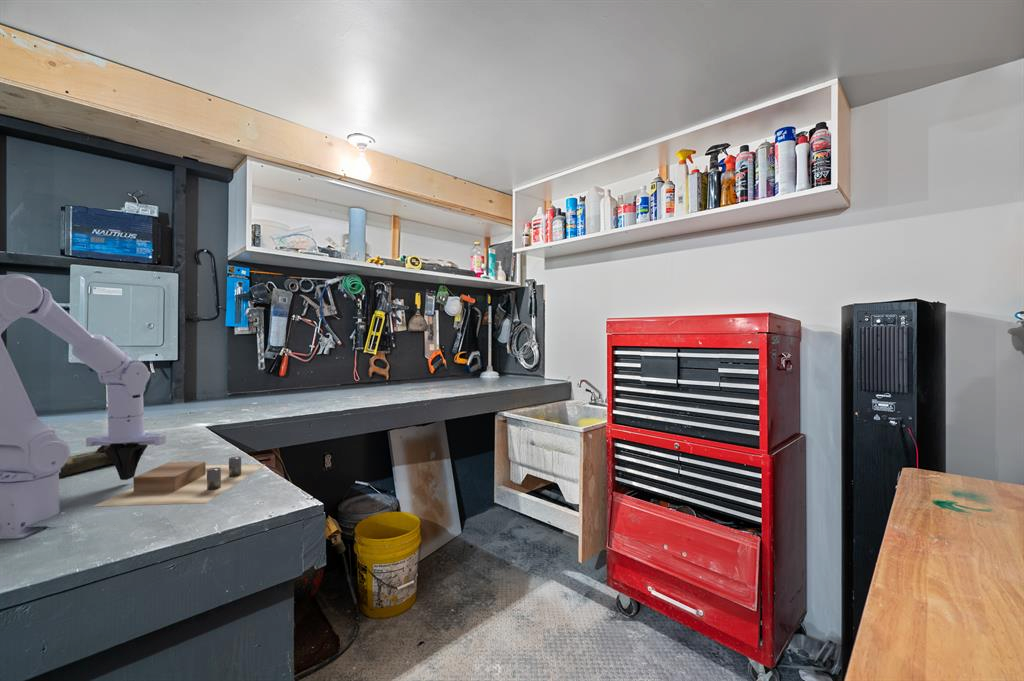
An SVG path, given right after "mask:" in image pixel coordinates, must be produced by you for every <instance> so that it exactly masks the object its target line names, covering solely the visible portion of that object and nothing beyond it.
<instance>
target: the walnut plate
mask: <svg viewBox="0 0 1024 681" xmlns="http://www.w3.org/2000/svg"><path fill="white" fill-rule="evenodd" d="M205 466H206V461H185V462H184V461H183V462H182V461H181V462H179V461H178V462H172V461H171V462H167V463H164V464H162V465H159V466H157V467H155V468H152V469H150V470H148V471H146V472H144V473H141V474H138V475H135V476H134V477H132V478H133V488H134V492H156V491H176V490H178V489H180V488H182V487H184V486H185V485H187V484H189V483H191V482H193V481H195V480H197V479H198V478H200V477H202V476H204V475H206V469H205Z"/></svg>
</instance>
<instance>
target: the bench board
mask: <svg viewBox="0 0 1024 681" xmlns="http://www.w3.org/2000/svg"><path fill="white" fill-rule="evenodd" d="M261 464H262V465H261ZM261 464H242V456H231V457H229V458H228V464H221V465H219V464H218V465H215V464H214V465H210V464H209V465H207V464H206V465H205V469H206V475H204V476H202V477H200V478H198V479H197V480H195V481H193V482H191V483H189V484H187V485H185V486H184V487H182V488H180V489H178V490H176V491H156V492H134V487H132V488H130V489H127V490H126V491H123V492H120V493H118V494H117V495H115V496H113V497H110V498H108V499H105V500H104V501H101V502H100V503H97V504H95V505H93V506H92V507H93V508H94V507H125V506H126V507H127V506H128V507H129V506H157V505H158V506H159V505H160V506H162V505H166V506H167V505H194V504H207V503H208V502H210V501H211V500H213V499H214V498H216V497H217V496H219V495H221V494H222V493H224V492H225V491H227V490H228V489H230V488H231V487H233V486H235V485H236V484H237V483H239V482H241V481H242V480H244V479H245V478H247V477H249V476H250V475H252V474H253V473H255V472H257V471H258V470H260V469H261V468H262V467H264V466H266V463H265V464H264V463H261Z"/></svg>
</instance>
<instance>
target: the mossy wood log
mask: <svg viewBox="0 0 1024 681" xmlns="http://www.w3.org/2000/svg"><path fill="white" fill-rule="evenodd" d="M109 447H110V445H103V446H99V447H98V448H97V450H95V451H91V452H85V453H81V454H77V455H71V456H69V458H68V460H67V462H66V463H65V465H64V466H63V467H62V468H61V472H60V473H59V479H60V478H63V477H66V476H71V475H75V474H78V473H81V472H84V471H88V470H92V469H95V468H98V467H104V466H105V467H106V466H109V465H114V463H113V462H112V460H111V459H110V458H109V457H108V456H107V455H106V454H105V450H106V449H109Z"/></svg>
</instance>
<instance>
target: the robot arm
mask: <svg viewBox="0 0 1024 681" xmlns="http://www.w3.org/2000/svg"><path fill="white" fill-rule="evenodd" d="M20 318H25V319H30V320H33V321H35V322H36V323H37V324H39V325H40V326H42V327H43V328H45V329H46V330H48V331H49V332H51V333H52V334H54V335H55V336H57V337H59V338H60V339H62V340H63V341H64V342H66V343H68V344H69V345H71V346H72V350H71V353H72V355H73V356H74V357H75V358H77V359H78V360H79V361H81V362H82V363H83V364H85V365H86V366H87V367H89V368H90V369H92V370H93V371H95V372H96V373H97V377H98V381H99V382H100V383H101V384H103V385H106V389H107V390H106V391H107V392H106V393H107V398H106V399H107V401H106V402H107V432H108V434H101V435H100V434H99V435H91V436H87V437H86V438H85V443H86V444H85V445H86V446H85V447H87V448H88V447H89V448H90V447H94V446H99V447H101V446H103V445H110V447H109V449H106V450H105V454H106V455H107V456H108V457H109V458H110V459H111V460H112V462H113V463H114V464H113V465H114V467H115V469H116V471H117V474H118V477H119V480H120V481H128V480H130V479H132V478H134V477H135V476H136V472H137V468H138V465H139V462H140V459H141V457H142V455H144V452H145V450H147V448H148V445H150V446H151V445H152V446H153V445H154V446H160V445H164V444H166V442H167V440H166V439H167V438H166V434H165V433H164V434H163V433H162V434H161V433H150V432H149V433H148V432H146V431H145V425H144V424H145V421H144V420H145V418H144V417H145V416H144V410H145V409H144V394H145V391H146V385H147V383H148V381H149V380H150V378H151V374H152V373H151V371H149V368H148V367H147V365H146V364H145V363H144V362H142V361H141V360H136V359H135V360H133V359H132V358H131V355H130V354H129V353H128V352H124V351H123V350H122V349H120V348H119V347H118V346H117V345H116V344H114V343H113V341H114V339H112V337H110V336H107V335H106V336H104V335H103V334H95V333H94V334H91V333H90V332H89V330H87V329H86V328H85V327H84V326H82V324H80V323H79V322H78V321H77V320H76V319H75V318H74V317H73V316H72V315H70V314H69V312H68V311H66V310H65V309H64V308H63V307H62V306H61V305H60V304H59V303H57V302H56V301H55V300H54V298H53V295H52V293H51V291H50V290H48V289H47V288H46V287H43V286H41V285H40V283H39V282H38V281H37V280H35V279H34V278H33V277H30V276H28V275H25V274H19V273H10V274H9V273H8V274H0V540H9V539H13V540H14V539H23V538H26V537H29V536H31V535H32V534H34V533H37V532H39V531H41V530H43V529H45V528H48V527H49V526H48V525H45V526H44V525H43V526H42V525H40V526H30V525H33V524H35V523H38V522H40V521H44V520H47V519H49V518H52V517H54V516H56V515H58V514H59V513H60V511H61V509H60V478H59V473H60V472H61V468H62V467H63V466H64V465H65V463H66V462H67V460H68V458H69V457H70V454H71V450H70V446H69V445H68V443H67V442H66V441H64V440H63V439H61V438H60V437H59V436H58V435H57V434H56V431H55V430H54V428H52V427H51V426H49V425H48V424H47V423H45V422H43V421H41V420H40V419H39V418H38V415H37V413H36V412H35V411H36V410H35V409H34V406H33V405H32V402H31V400H30V398H29V395H28V393H27V391H26V389H25V387H24V385H23V382H22V380H21V378H20V376H19V374H18V371H17V369H16V367H15V365H14V363H13V360H12V358H11V356H10V353H9V351H8V350H7V347H6V345H5V342H4V340H3V338H2V334H3V333H4V331H5V330H6V329H7V328H8V327H9V326H10V325H11V324H12V323H14V322H15V321H17V320H19V319H20Z"/></svg>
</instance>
